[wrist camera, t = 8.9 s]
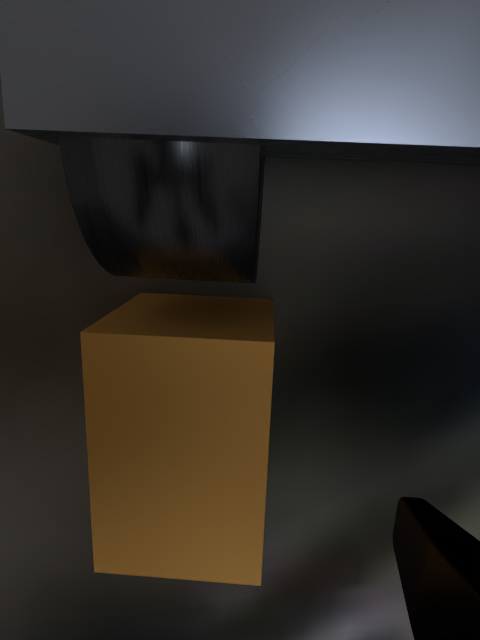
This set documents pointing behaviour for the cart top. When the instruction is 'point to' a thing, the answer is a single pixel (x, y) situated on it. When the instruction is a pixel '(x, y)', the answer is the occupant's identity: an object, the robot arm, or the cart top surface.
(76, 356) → the cart top surface
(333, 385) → the cart top surface
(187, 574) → the block
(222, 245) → the trolley
